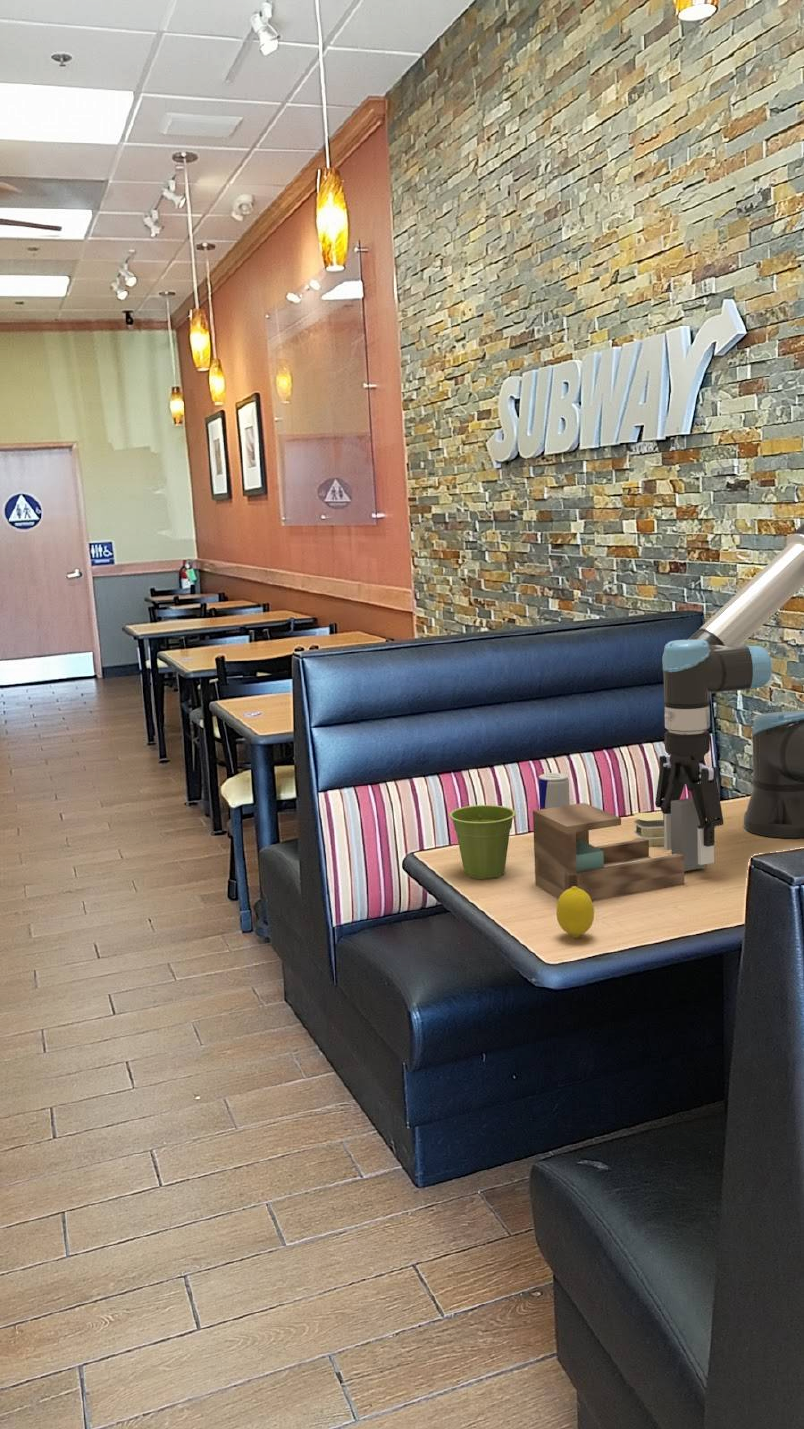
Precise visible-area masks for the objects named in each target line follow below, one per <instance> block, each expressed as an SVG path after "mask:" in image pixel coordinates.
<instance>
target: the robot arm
mask: <svg viewBox="0 0 804 1429" xmlns="http://www.w3.org/2000/svg"><path fill="white" fill-rule="evenodd" d="M785 542H786V543H785V544H786V546H785V547H784V548H783V550H781V551H780V552H779V553H778V554H777V555H776V556H775V557H774V558H772V560H770V562H769V563H768V564H766V565H765V566H764V567H763V568H762V569H761V570H760V571H759V572H758V573H757V574H756V575H754V577H752V579H750V581H748V583H746V584H745V585H744V586H743V587H742V588H741V589H740V590H739V591H737V593H735V595H734V596H732V597H731V598H730V600H728V601H727V602H726V603H724V605H722V607H721V608H720V609H719V610H718V611H716V613H714V615H712V616H711V617H710V618H709V619H708V620H707V621H706V622H705V623H704V624H702V626H701V627H699V629H698V630H696V631H695V632H694V633H693V634H692V635H691V636H690V637H689V638H688V639H676V640H671V641H668V642H667V643H666V644H665V645H664V649H663V654H662V658H661V660H662V662H661V663H662V671H663V698H664V699H663V700H664V728H665V729H666V731H665V732H664V751H665V752H666V755H660V756H659V758H658V760H659V771H658V772H659V773H658V780H657V787H656V794H655V795H656V796H655V801H654V802H655V808H660V811H661V814H663V823H664V851H665V850H666V851H671V801H674V800H680V799H681V796H682V794H683V791H684V789H685V786H686V788H687V790H688V791H689V792H690V794H691V798H693V801H694V804H695V808H696V811H697V814H698V818H699V821H700V824H701V825H699V826H697V830H698V864H699V865H704V864H706V865H708V864H714V863H715V856H714V855H715V852H714V851H715V848H714V846H715V841H716V840H715V833H716V832H715V831H716V830H715V829H716V827H719V826H723V825H724V816H723V812H722V804H721V799H720V798H721V797H720V792H719V786H718V768H717V767H716V766H712V767H709V766H707V764H706V761H705V755H706V754H708V753H709V752H710V750H711V740H710V739H711V738H710V736H711V735H710V734H711V733H710V732H709V730H708V729H709V728H710V727H711V717H710V713H711V712H710V711H711V710H710V697H711V694H716V693H726V692H735V691H737V692H738V691H744V690H745V691H746V690H747V691H751V690H754V689H759V688H762V687H764V686H766V685H767V684H768V683H769V681H770V679H771V677H772V674H773V668H772V666H773V662H772V659H771V656H770V654H769V652H768V651H767V650H766V649H765V648H764V647H762V646H761V645H747V644H745V645H744V646H742V645H743V644H744V643H745V642H746V641H747V640H748V639H749V638H750V637H752V635H753V634H754V633H755V632H756V631H758V630H759V629H760V628H761V627H762V626H763V625H764V624H765V623H766V622H767V621H768V620H769V619H770V618H771V617H772V616H774V615H775V613H776V612H778V611H779V610H780V609H781V608H782V607H783V606H784V605H785V604H786V603H787V602H788V601H789V600H790V599H792V598H793V596H794V595H796V594H797V593H798V592H799V590H801V589H802V588H803V587H804V522H803V523H802V524H801V525H800V526H799V527H798V528H797V529H795V531H794V532H793V533H791V535H789V536H788V537H787V538H786V541H785ZM752 726H753V727H752V732H751V737H752V767H753V768H752V777H753V778H752V780H753V781H752V786H753V787H752V791H751V794H750V798H749V801H748V804H747V808H746V811H745V812H744V816H743V827H744V829H745V830H746V831H748V832H750V833H753V834H756V835H759V836H766V837H771V838H785V839H786V838H787V839H788V838H789V839H792V838H793V839H795V838H796V839H798V838H804V710H788V711H785V710H784V711H777V712H775V711H774V712H767V713H762V714H759V715H757V716H756V717H755V718H754V720H753V725H752Z"/></svg>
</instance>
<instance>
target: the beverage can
mask: <svg viewBox="0 0 804 1429" xmlns="http://www.w3.org/2000/svg"><path fill="white" fill-rule="evenodd" d="M538 798H539V799H538V802H539V810H540V809H547V808H553V807H560V806H567V805H571V803H570V801H571V800H570V780H569V775H568V774H566V773H560V772H548V773H543V774H540V775H539V776H538Z"/></svg>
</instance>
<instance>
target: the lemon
mask: <svg viewBox="0 0 804 1429" xmlns="http://www.w3.org/2000/svg"><path fill="white" fill-rule="evenodd" d="M557 899H558V898H557ZM556 904H557V905H556V912H555V913H556V919H557V923H558V925H559V927H560V928H561V929H562V930H563V931H564V932H565V933H567V934H570V935H571V936H572V937H573V938H574V939H575V938H576V939H577V938H579V937H580V936H581V935H582V934H585V933H586V932H588V931H589V930H590V928H591V927H592V925H593V922H594V918H595V909H594V904H593V901H592V900H591V898H590V896H589V895H588V894H587V893H586V892H585V891H584V890H582V889H579V888H577V887H576V886H572V887H571V888H570V889H567V890H566V891H564V892H563V893H562V894H561V895H560V897H559V899H558V900H557V903H556Z"/></svg>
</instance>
